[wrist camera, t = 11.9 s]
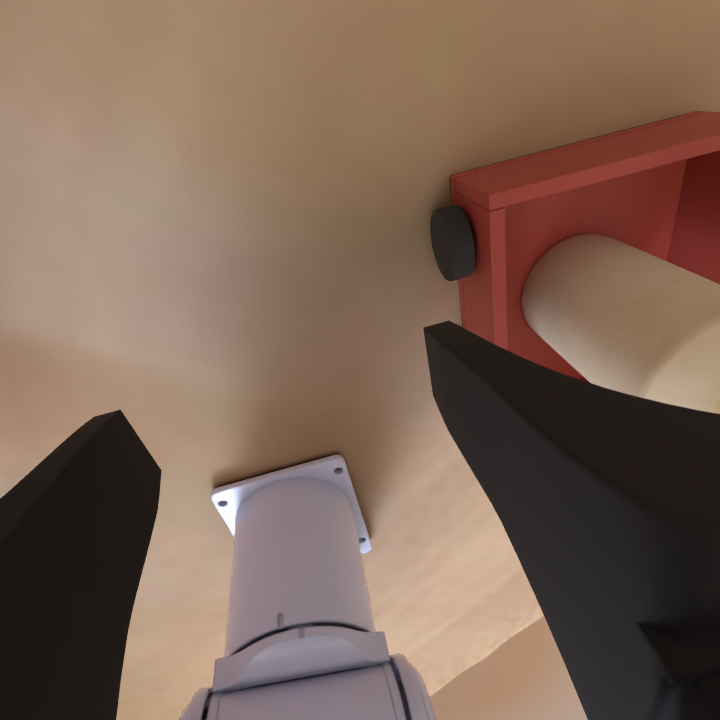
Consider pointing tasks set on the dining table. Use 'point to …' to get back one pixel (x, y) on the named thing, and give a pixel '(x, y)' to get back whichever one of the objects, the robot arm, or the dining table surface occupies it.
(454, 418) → the robot arm
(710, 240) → the cart
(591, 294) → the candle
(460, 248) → the cart wheels
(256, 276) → the dining table surface
